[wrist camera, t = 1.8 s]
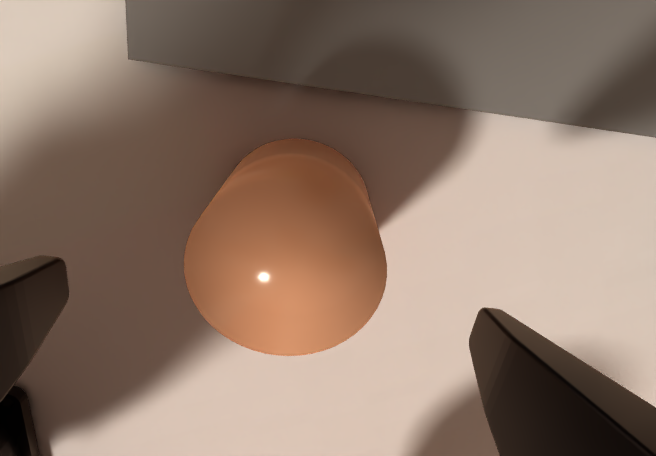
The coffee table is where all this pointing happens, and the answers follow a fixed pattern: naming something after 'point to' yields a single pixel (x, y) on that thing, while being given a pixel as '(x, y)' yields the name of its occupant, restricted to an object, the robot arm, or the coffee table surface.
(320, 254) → the peach rounded capsule
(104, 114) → the coffee table surface
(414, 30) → the mat
